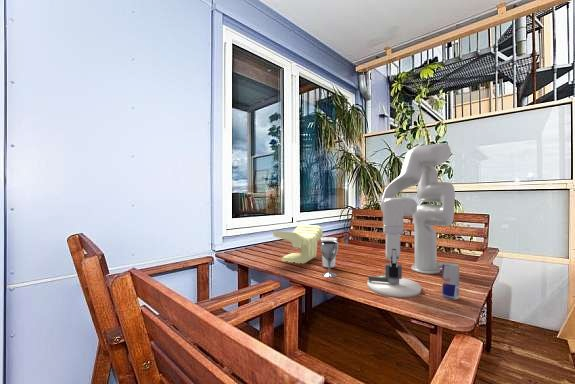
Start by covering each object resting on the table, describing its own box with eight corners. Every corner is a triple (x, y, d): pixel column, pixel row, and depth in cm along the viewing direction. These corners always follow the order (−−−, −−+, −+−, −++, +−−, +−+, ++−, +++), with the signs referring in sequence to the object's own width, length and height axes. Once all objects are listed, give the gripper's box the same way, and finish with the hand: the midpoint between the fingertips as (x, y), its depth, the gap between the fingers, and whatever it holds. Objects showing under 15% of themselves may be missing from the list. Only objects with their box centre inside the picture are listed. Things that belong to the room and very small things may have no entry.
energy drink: (438, 294, 104) (438, 262, 103) (452, 294, 104) (452, 262, 104) (448, 300, 98) (448, 266, 98) (462, 299, 99) (462, 266, 99)
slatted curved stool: (300, 268, 139) (300, 233, 139) (273, 264, 147) (273, 230, 147) (322, 255, 166) (322, 225, 166) (298, 252, 173) (298, 224, 173)
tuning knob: (401, 281, 113) (400, 264, 112) (402, 284, 108) (401, 267, 108) (368, 278, 116) (368, 261, 116) (368, 282, 112) (368, 264, 112)
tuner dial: (411, 280, 120) (411, 276, 120) (429, 298, 100) (429, 293, 100) (364, 278, 123) (364, 274, 123) (371, 296, 103) (371, 291, 103)
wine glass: (334, 278, 123) (333, 244, 123) (317, 275, 127) (317, 243, 127) (340, 274, 130) (340, 241, 130) (325, 271, 134) (324, 240, 134)
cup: (340, 267, 141) (340, 238, 141) (328, 269, 137) (328, 240, 137) (329, 263, 148) (329, 236, 148) (317, 266, 143) (317, 238, 143)
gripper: (382, 226, 120) (382, 269, 120) (383, 232, 105) (384, 281, 105) (401, 227, 118) (401, 270, 118) (405, 233, 102) (405, 283, 103)
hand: (393, 275), depth 111 cm, fingers closed on tuning knob, 2 cm apart
